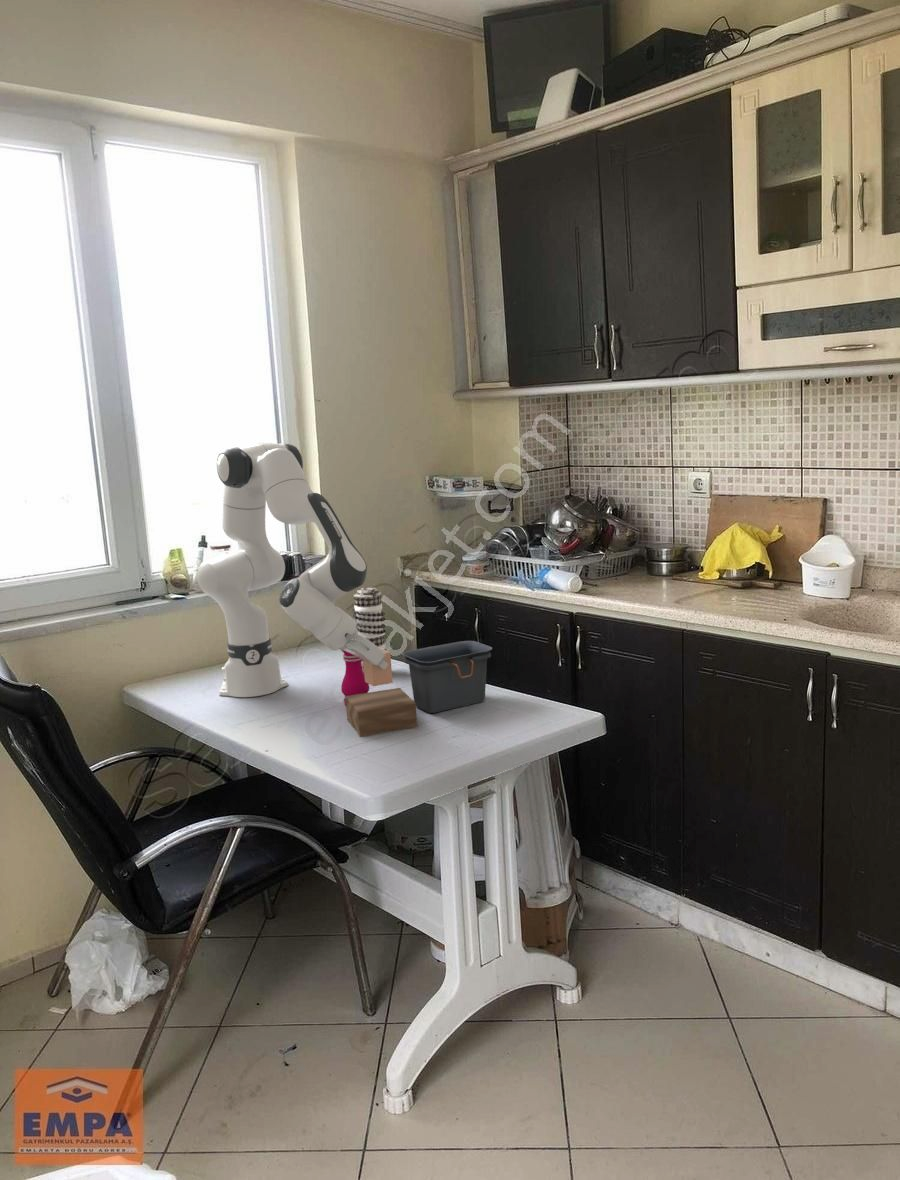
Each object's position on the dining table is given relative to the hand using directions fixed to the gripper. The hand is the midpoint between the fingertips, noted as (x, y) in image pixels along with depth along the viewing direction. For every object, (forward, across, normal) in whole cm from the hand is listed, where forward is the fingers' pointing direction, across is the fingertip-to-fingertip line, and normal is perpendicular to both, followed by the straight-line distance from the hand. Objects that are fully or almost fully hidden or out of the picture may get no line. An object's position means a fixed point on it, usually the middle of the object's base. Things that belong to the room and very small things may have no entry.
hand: (379, 664), depth 228 cm
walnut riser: (+10, 0, +11) cm, 15 cm away
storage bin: (+25, +2, -3) cm, 25 cm away
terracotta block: (+3, 0, +4) cm, 4 cm away
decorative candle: (+22, +42, -1) cm, 47 cm away
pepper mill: (+11, +18, +10) cm, 23 cm away
